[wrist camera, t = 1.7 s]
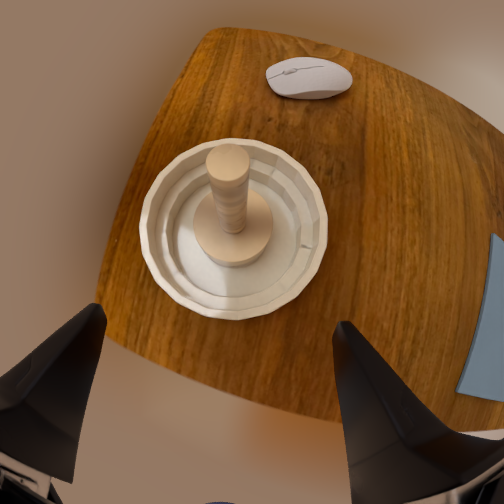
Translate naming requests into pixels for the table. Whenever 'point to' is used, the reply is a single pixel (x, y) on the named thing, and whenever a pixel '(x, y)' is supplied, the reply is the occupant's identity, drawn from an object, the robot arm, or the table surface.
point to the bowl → (249, 277)
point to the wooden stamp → (232, 211)
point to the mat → (488, 335)
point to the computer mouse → (308, 78)
